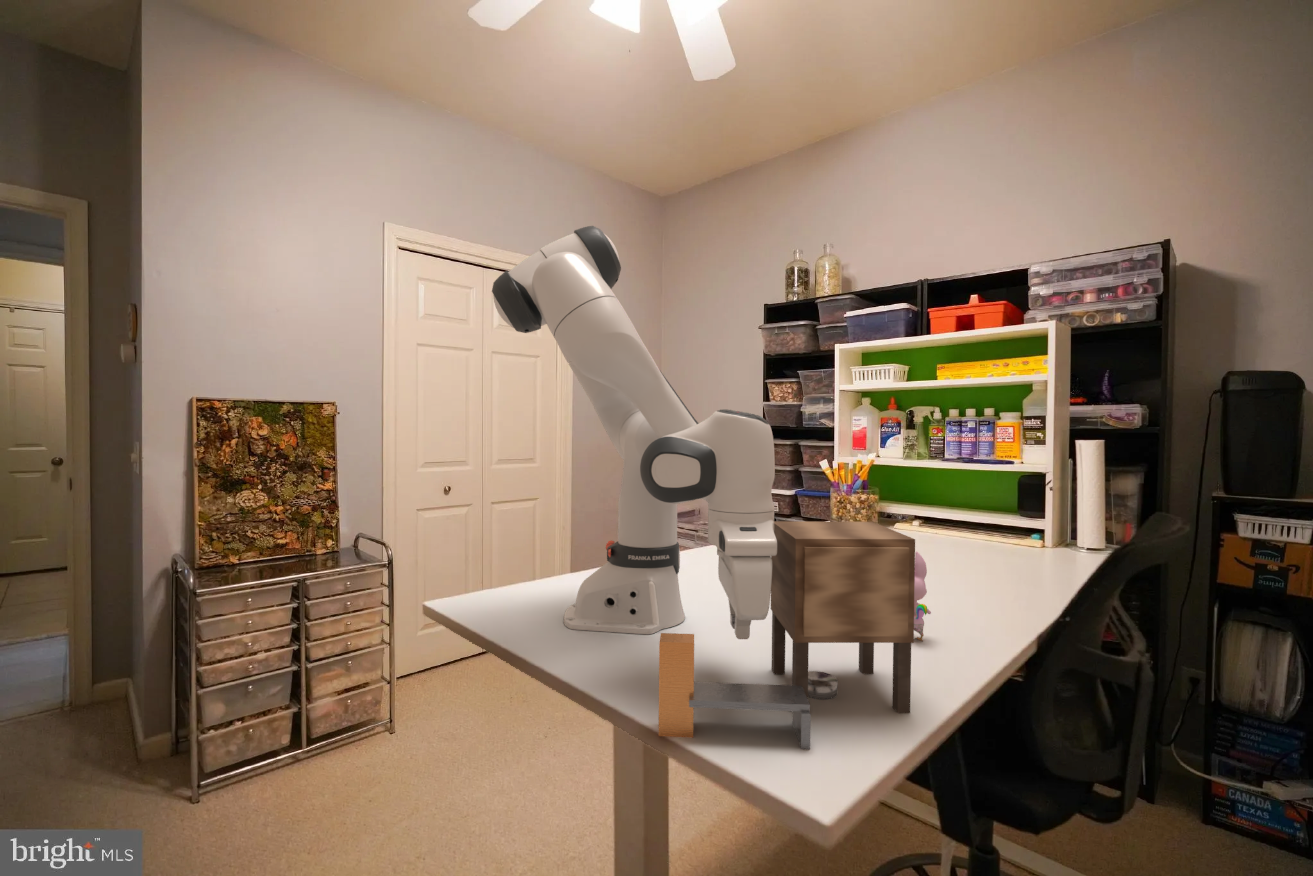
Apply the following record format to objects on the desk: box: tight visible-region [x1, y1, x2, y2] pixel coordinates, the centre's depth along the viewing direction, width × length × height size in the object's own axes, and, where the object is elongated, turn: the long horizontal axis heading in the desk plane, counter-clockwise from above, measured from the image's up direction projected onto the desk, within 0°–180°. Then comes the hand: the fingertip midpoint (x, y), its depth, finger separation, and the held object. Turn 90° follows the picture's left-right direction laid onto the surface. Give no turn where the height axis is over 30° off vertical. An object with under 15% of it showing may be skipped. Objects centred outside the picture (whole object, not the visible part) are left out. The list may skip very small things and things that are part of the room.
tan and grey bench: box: [658, 632, 812, 751], centre depth 71 cm, size 17×6×11 cm, turn 86°
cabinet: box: [770, 520, 916, 714], centre depth 82 cm, size 15×15×22 cm
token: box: [808, 670, 839, 701], centre depth 82 cm, size 5×5×2 cm
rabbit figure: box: [914, 551, 932, 642], centre depth 101 cm, size 6×6×15 cm
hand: (739, 632), depth 81 cm, fingers open, 3 cm apart
